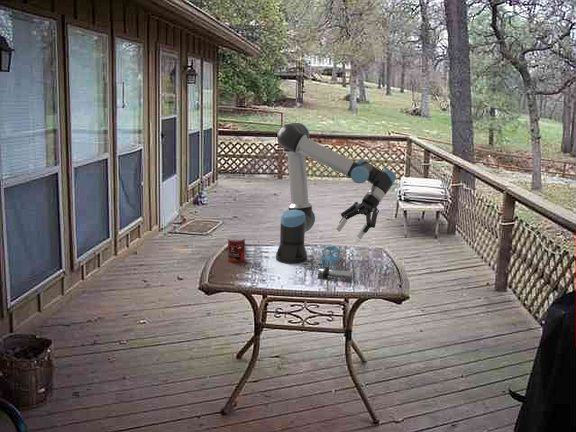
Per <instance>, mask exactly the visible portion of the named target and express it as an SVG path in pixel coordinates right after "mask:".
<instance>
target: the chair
mask: <svg viewBox="0 0 576 432" xmlns="http://www.w3.org/2000/svg"><path fill="white" fill-rule="evenodd" d="M327 250H328V251H329V254H328V255H325V251H327ZM321 252H322V253H321V254H322V256H320V260H321V268H323V269H324V267H326V261H327V262H329V263H330V265H329V269H331V270H338V269H337V268H333V266H334V264H336V262H338V261H341V257H340V254H341V249H339V247H337V246H335V245H334V246H333V245H332V246H326V247H324V248H323V249H322V250H321ZM335 253H337V254H336V256H335V255H334V254H335Z"/></svg>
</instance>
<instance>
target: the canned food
mask: <svg viewBox="0 0 576 432" xmlns="http://www.w3.org/2000/svg"><path fill="white" fill-rule="evenodd" d="M227 239H228V240H227V259H228V260H227V261H228V262H230V263H242V262H244V261H245V251H246V250H245V248H246V247H245V245H246V243H245V241H246V238H245V237H244V236H239V235H238V236H237V235H235V236H234V235H233V236H230V237H228V238H227Z"/></svg>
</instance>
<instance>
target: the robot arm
mask: <svg viewBox="0 0 576 432" xmlns="http://www.w3.org/2000/svg"><path fill="white" fill-rule="evenodd" d="M276 135H277V136H276V138H277V142H278V144H279V145H280V146H281V147H282V148H283V152H284V153H285V154H286V156H287V163H288V164H287V165H288V166H287V167H288V177H289V178H288V179H289V191H290V193H289V194H290V204H289V205H287V206H288V209H287V210H285V211H283V212H282V213H281V215H280V219H279V220H280V230H279V231H280V235H279V246H278V247H277V251H276V254H275V259H276V261H278V262H280V263H283V264H284V263H285V264H303V263H305V262H307V261H308V253H307V251H306V246H305V235H306V233H307V232H308V231H310V230H311V229H312V228H313V226H314V224H315V222H316V216H315V212H314V211H313V207H312V206H313V205H312V203H311V202H309V193H308V189H309V188H308V178H307V176H308V175H307V163H306V157H308V158H309V159H312V160H313V161H314V162H315V161H316V162H317V163H319V164H322V165H324V166H326V167H328V168H330V169H332V170H333V171H336V172H337V173H340V174H342V175H343V176H346V177H347V178H350V179H351V180H352V181H353V182H354V183H355V184H364V183H366V182H368V183H370V184H372V185H371V187H370V188H369V190H368V191H367V192H366V194H365V195H364V196H363V198H362V199H361V203H358V201H355V202H354V203H353V205H351V206H349V207H348V208H347V209H345V210H344V211H343V212H342V213H340V216H341V219H340V220H339V222H338V225H337V226H336V227H335V229H336V230H337V232H339V233H340V232H341V231H342V229H343V228H344V226H346V224H347V223H348V220H349V219H351V218H353V217H355V216H357V215H364V216H365V220H366V223H365V224H364V225H363V226H362V228H361V229H360V231H359V232H358V233H357V234H356V236H357V238H358V239H359V240H361V239H362V238H363V237H364V235H366V234H367V233H368V231H369V230H370V229H371V228H373V229H374V228H375V227H376V224H377V218H378V214H379V213H380V210H379V208H378V206H379V204H380V203H381V202H382V200H383V198H384V197H385V196H386V195H387V193H388V192H389V191H390V189H391V187H392V186H393V184H394V183H395V181H396V180H397V175H396V173H395V172H394V171H392V170H391V169H388V168H384V169H382V170H381V169H379V168H377V167H376V166H374V165H373V164H371V163H370V162H368V160H365V159H363V158H360V159H359V160H358V161H357V162H356V161H354V160H352V159H350V158H348V157H346V156H345V155H342V154H341V153H338V152H336V151H335V150H332V149H329V148H328V147H327V146H324V145H322V144H320V143H317V142H316V141H314V140H312V139H310V131H309V129H308V127H307V126H306V125H304V124H302V123H298V122H292V123H291V122H290V123H287V124H284V125H282V126H281V127H280V128H279V129H278V131H277V134H276Z"/></svg>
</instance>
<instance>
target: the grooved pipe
mask: <svg viewBox="0 0 576 432" xmlns="http://www.w3.org/2000/svg"><path fill="white" fill-rule="evenodd" d="M329 267H330V266H329ZM329 267H327V266H325V267H324V269H323V268H322V267H321V268H319V269H318V273H317V279H318V280H319V279H320V280H323V279H325V278H327V279H328V277H334V278H340V279H342V278H344V282H345V283H351V281H352V280H353V274H352V271H347V270H340V269H337V270H331V269H329Z"/></svg>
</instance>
